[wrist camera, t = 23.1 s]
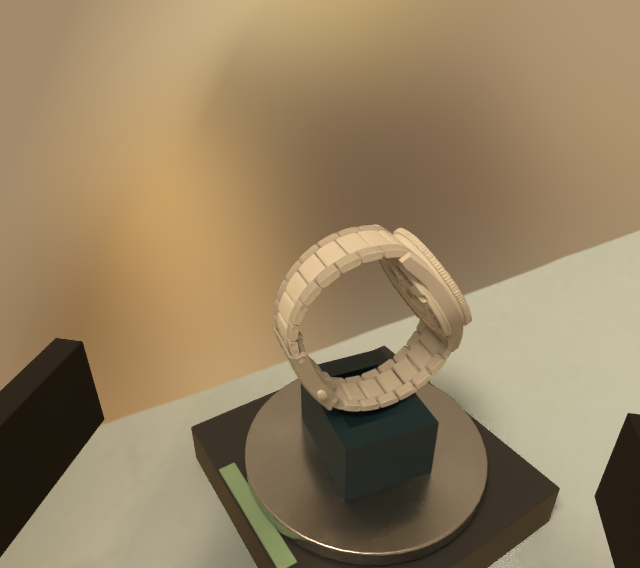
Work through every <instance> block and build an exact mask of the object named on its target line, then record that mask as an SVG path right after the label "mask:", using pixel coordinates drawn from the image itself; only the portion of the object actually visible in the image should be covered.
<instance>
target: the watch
mask: <svg viewBox="0 0 640 568" xmlns="http://www.w3.org/2000/svg"><path fill="white" fill-rule="evenodd" d="M317 245H318V246H319V247H318V246H317ZM317 245H316V244H315V245H313V246H312V247H311V248H310V249H308V250H307V251H306V252H305V253H304V254H303V255H302V256H301V257H300V261H301V262H302V263H301V262H300V261H299V260H298V261H297V262H296V263H295V264H294V265H293V266H292V268H291V269H290V271H289V272H288V274H287V275H286V279H287V280H286V279H285V280H284V281H283V282H282V284H281V287H280V289H279V292H278V295H277V300H276V302H275V309H274V314H275V317H274V319H275V324H276V326H275V327H274V328H273V330H274V333H275V335H276V337H277V339H278V341H279V343H280V345H281V347H282V349H283V350H284V353H285V354H286V356H287V358H288V360H289V362H290V364H291V366H292V367H293V369H294V371H295V373H296V375H297V377H298V378H299V380H300V382H301V414H302V418H303V420H304V422H305V424H306V426H307V428H308V430H309V432H310V434H311V436H312V438H313V440H314V442H315V444H316V446H317V448H318V450H319V452H320V454H321V456H322V458H323V460H324V462H325V464H326V466H327V468H328V470H329V472H330V474H331V476H332V478H333V480H334V482H335V484H336V486H337V488H338V490H339V492H340V494H341V496H342V498H343V500H344V502H347V501H349V500H352V499H355V498H358V497H361V496H364V495H367V494H370V493H373V492H376V491H379V490H381V489H384V488H387V487H390V486H393V485H396V484H399V483H402V482H405V481H408V480H411V479H413V478H416V477H419V476H422V475H425V474H428V473H431V471H432V465H433V458H434V452H435V445H436V438H437V432H438V425H439V422H438V421H437V419H436V418H435V417H434V416H433V414H432V413H431V412H430V411H429V409H428V408H427V407H426V406H425V404H424V403H423V402H422V401H421V399H420V398H419V397H418V396H417V394H416V393H415V392H416V391H417V389H420V388H421V387H422V386H424V385H425V384H426V383H427V382H428V381H429V380H430V379H432V377H433V375H435V374H436V373H437V372H438V371H439V370H440V368H441V367H442V366H443V365H444V363H445V362H446V359H447V358H448V357H449V355H450V354H451V352H453V351H454V350H456V349H457V348H458V347H459V345H460V342H461V339H462V334H463V325H467V324H469V323H470V322H471V321H472V316H471V312H470V309H469V307H468V304H467V302H466V300H465V298H464V296H463V295H462V293H461V291H460V290H459V288H458V286H457V285H456V283H455V282H454V280H453V279H452V278H451V276H450V275H449V273H448V272H447V271H446V269H445V268H444V267H443V265H442V264H441V263H440V262H439V261H438V259H437V258H436V257H435V256H434V255H433V254H432V252H431V251H430V250H429V249H428V248H427V247H426V246H425V245H424V244H423V243H422V242H421V241H420V240H419V239H418V238H417V237H416V236H414V235H413V234H411V233H410V232H409V231H407V230H405V229H403V228H398V229H397V230H396V231H395V232H394V233H393V234H392V233H390V232H389V231H387V230H386V229H384V228H383V227H381V226H379V225H366V226H360V227H359V228H357V227H352V228H348V229H344V230H342V231H339V232H338V234H337V233H333V234H331V235H329V236H327V237H326V238H324V239H322V240H321V241H319V242H318V243H317ZM318 258H319V259H320V260H321V261H322V262H323V263H324V265H325V266H326V267H327V268H326V267H325V266H324V265H323V264H322V262H321V261H320V260H319V259H318ZM378 259H379V262H380V264H381V266H382V268H383V270H384V272H385V274H386V275H387V277H388V278H389V280H390V281H391V283H392V284H393V286H394V287H395V289H396V290H397V291H398V293H399V294H400V296H401V297H402V298H403V300H404V301H405V302H406V303H407V305H408V306H409V307H410V308H411V310H412V311H413V312H414V314H415V315H416V316H417V317H418V318H419V319H420V322H419V324H418V326H417V330H418V331H415V332H414V333H413V334H412V336H411V337H410V339H409V340H408V342H407V346H408V347H409V348H410V349H411V350H410V349H409V348H408V347H407V346H404V347H402V348H401V349H400V351H399V352H398V353H396V354H395V355H394V357H393V359H394V360H395V362H396V363H395V362H394V360H393V359H388V358H387V357H386V356H385V354H384V353H383V352H382V351H381V349H377V350H373V351H369V352H365V353H361V354H357V355H353V356H349V357H346V358H342V359H338V360H334V361H330V362H326V363H322V364H318V365H317V364H316V363H315V362H314V361H313V360H312V359H311V358H310V357H309V356H308V355H307V353H306V351H305V348H304V344H303V338H302V335H301V333H300V331H299V327H298V325H299V324H300V323H301V321H302V319H303V316H304V314H305V312H306V311H307V306H306V305H310V304H311V303H312V302H313V300H314V299H315V298H316V297H317V296H318V294H319V293H320V292H321V287H322V288H325V287H327V286H328V285H329V284H330V283H331V282H333V281H334V280H335V279H337V278H338V277H339V276H340V272H342V273H345V272H347V271H349V270H350V269H352V268H355V267H357V266H359V265H360V264H361V261H362V262H364V263H366V262H370V261H374V260H378ZM338 269H339V270H340V272H339V270H338ZM302 276H303V277H302ZM305 280H306V281H305ZM307 283H308V284H309V285H308V284H307ZM426 348H427V349H428V350H429V351H428V350H427V349H426ZM409 359H410V360H411V361H412V362H413V363H414V364H415V366H416V367H417V368H418V369H419V370H420V371H421V372H420V371H419V370H418V369H417V368H416V367H415V366H414V364H413V363H412V362H411V361H410V360H409ZM428 370H429V371H430V372H431V373H432V374H433V375H432V374H431V373H430V372H429V371H428ZM413 384H414V385H415V386H416V388H417V389H416V388H415V386H414V385H413Z"/></svg>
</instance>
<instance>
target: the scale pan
mask: <svg viewBox="0 0 640 568" xmlns="http://www.w3.org/2000/svg"><path fill="white" fill-rule="evenodd" d="M413 385H414V384H413ZM414 386H415V385H414ZM415 388H416V386H415ZM416 389H417V388H416ZM415 393H416V394H417V396H418V397H419V398H420V399H421V401H422V402H423V403H424V404H425V406H426V407H427V408H428V409H429V411H430V412H431V413H432V414H433V416H434V417H435V418H436V419H437V421H438V422H439V425H438V432H437V438H436V445H435V452H434V458H433V465H432V471H431V473H428V474H425V475H422V476H419V477H416V478H413V479H411V480H408V481H405V482H402V483H399V484H396V485H393V486H390V487H387V488H384V489H381V490H379V491H376V492H373V493H370V494H367V495H364V496H361V497H358V498H355V499H352V500H349V501H347V502H344V500H343V498H342V496H341V494H340V492H339V490H338V488H337V486H336V484H335V482H334V480H333V478H332V476H331V474H330V472H329V470H328V468H327V466H326V464H325V462H324V460H323V458H322V456H321V454H320V452H319V450H318V448H317V446H316V444H315V442H314V440H313V438H312V436H311V434H310V432H309V430H308V428H307V426H306V424H305V422H304V420H303V418H302V414H301V382H300V380H299V379H297V380H295V381H293V382H291V383H290V384H288V385H286V386H285V387H283V388H282V389H280V390H279V391H278V392H277V393H275V394H274V395H273V396H272V397H271V398H270V399H269V400H268V401H267V402H266V403H265V404H264V405H263V406H262V408H261V409H260V410H259V412H258V413H257V415H256V416H255V418H254V420H253V422H252V424H251V426H250V429H249V432H248V435H247V439H246V444H245V468H246V474H247V481H248V484H249V487H250V490H251V493H252V496H253V498H254V500H255V501H256V503H257V505H258V507H259V509H260V510H261V511H262V513H263V514H264V515H265V517H266V518H267V519H268V521H269V522H270V523H271V524H272V525H273V526H274V527H275V528H276V529H277V530H278V531H279V532H281V533H282V534H283V535H285V536H286V537H287V538H288V539H290V540H291V541H292V542H294V543H296V544H297V545H299V546H301V547H303V548H304V549H306V550H308V551H310V552H313V553H315V554H318V555H320V556H322V557H325V558H328V559H332V560H336V561H340V562H343V563H350V564H357V565H389V564H398V563H403V562H407V561H411V560H415V559H418V558H421V557H423V556H426V555H428V554H431V553H433V552H435V551H437V550H438V549H440V548H442V547H443V546H445V545H447V544H448V543H450V542H451V541H452V540H453V539H455V538H456V537H457V536H458V535H459V534H461V533H462V531H463V530H464V529H465V528H466V527H467V526H468V525H469V524H470V522H471V521H472V519H473V517H474V516H475V514H476V513H477V511H478V509H479V506H480V504H481V501H482V499H483V495H484V491H485V486H486V481H487V476H488V461H487V455H486V449H485V446H484V443H483V440H482V437H481V435H480V433H479V431H478V429H477V427H476V426H475V424H474V423H473V421H472V420H471V418H470V417H469V415H468V414H467V413H466V412H465V411H464V410H463V409H462V407H461V406H460V405H459V404H457V403H456V402H455V401H454V400H453V399H452V398H451V397H449V396H448V395H447V394H445V393H444V392H442V391H441V390H440V389H438V388H436V387H434V386H433V385H431V384H429V383H426V384H425V385H424V386H422V387H421V388H420V389H417V391H416V392H415Z"/></svg>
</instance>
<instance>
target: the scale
mask: <svg viewBox="0 0 640 568" xmlns="http://www.w3.org/2000/svg"><path fill="white" fill-rule="evenodd" d="M378 349H381V351H382V352H383V353H384V354H385V356H386V357H387V358H388V359H393V357H394V355H395V354H394V353H393V352H392V351H390V350H389V349H388V348H387V347H385V346H382V347H380V348H378ZM375 350H377V349H375ZM393 360H394V359H393ZM394 362H395V360H394ZM395 363H396V362H395ZM427 383H429V384H431V383H430V382H429V381H428V382H427ZM431 385H432V384H431ZM434 387H435V386H434ZM278 391H279V390H278ZM278 391H276V392H273V393H271V394H268V395H266V396H264V397H261V398H259V399H257V400H254V401H252V402H249V403H247V404H245V405H242V406H240V407H238V408H235V409H233V410H230V411H228V412H226V413H223V414H221V415H219V416H216V417H214V418H211V419H209V420H207V421H204V422H202V423H200V424H197V425H195V426H192V428H191V429H192V434H193V440H194V446H195V452H196V457H197V460H198V461H199V463H200V465H201V467H202V469H203V470H204V472H205V474H206V476H207V478H208V479H209V481H210V483H211V485H212V486H213V488H214V490H215V492H216V494H217V495H218V497H219V499H220V501H221V502H222V504H223V506H224V508H225V510H226V511H227V513H228V515H229V517H230V519H231V520H232V522H233V524H234V526H235V527H236V529H237V531H238V533H239V535H240V536H241V538H242V540H243V542H244V543H245V545H246V547H247V549H248V551H249V552H250V554H251V556H252V558H253V560H254V561H255V563H256V565H257V567H258V568H487V567H488V566H489V565H491V564H492V563H493V562H495V561H496V560H497V559H499V558H500V557H501V556H503V555H504V554H505V553H507V552H508V551H509V550H511V549H512V548H513V547H515V546H516V545H517V544H519V543H520V542H521V541H523V540H524V539H525V538H527V537H528V536H529V535H531V534H532V533H533V532H535V531H536V530H537V529H539V528H540V527H541V526H543V525H544V524H545V523H547V522H548V521H549V519H550V516H551V513H552V510H553V507H554V504H555V501H556V498H557V495H558V492H559V490H560V488H559V487H558V486H557V485H555V484H554V483H553V482H552V481H550V480H549V479H548V478H547V477H545V476H544V475H543V474H542V473H541V472H539V471H538V470H537V469H536V468H534V467H533V466H532V465H531V464H529V463H528V462H527V461H526V460H525V459H523V458H522V457H521V456H520V455H518V454H517V453H516V452H515V451H513V450H512V449H511V448H510V447H509V446H507V445H506V444H505V443H504V442H502V441H501V440H500V439H499V438H497V437H496V436H495V435H494V434H493V433H491V432H490V431H489V430H488V429H486V428H485V427H484V426H483V425H481V424H480V423H479V422H478V421H477V420H475V419H474V418H473V417H472V416H470V415H469V414H468V413H467V412H466V413H467V414H468V415H469V417H470V418H471V420H472V421H473V423H474V424H475V426H476V427H477V429H478V431H479V433H480V435H481V437H482V440H483V443H484V446H485V449H486V455H487V461H488V476H487V481H486V486H485V491H484V495H483V499H482V501H481V504H480V506H479V509H478V511H477V513H476V514H475V516H474V517H473V519H472V521H471V522H470V524H469V525H468V526H467V527H466V528H465V529H464V530H463V531H462V533H461V534H459V535H458V536H457V537H456V538H455V539H453V540H452V541H451V542H450V543H448V544H447V545H445V546H443V547H442V548H440V549H438V550H437V551H435V552H433V553H431V554H428V555H426V556H423V557H421V558H418V559H415V560H411V561H407V562H403V563H398V564H389V565H357V564H350V563H343V562H340V561H336V560H332V559H328V558H325V557H322V556H320V555H318V554H315V553H313V552H310V551H308V550H306V549H304V548H303V547H301V546H299V545H297V544H296V543H294V542H292V541H291V540H290V539H288V538H287V537H286V536H285V535H283V534H282V533H281V532H279V531H278V530H277V529H276V528H275V527H274V526H273V525H272V524H271V523H270V522H269V521H268V519H267V518H266V517H265V515H264V514H263V513H262V511H261V510H260V509H259V507H258V505H257V503H256V501H255V500H254V498H253V496H252V493H251V490H250V487H249V484H248V481H247V474H246V468H245V444H246V439H247V435H248V432H249V429H250V426H251V424H252V422H253V420H254V418H255V416H256V415H257V413H258V412H259V410H260V409H261V408H262V406H263V405H264V404H265V403H266V402H267V401H268V400H269V399H270V398H271V397H272V396H273V395H274V394H275V393H277V392H278Z"/></svg>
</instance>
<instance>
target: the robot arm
mask: <svg viewBox="0 0 640 568" xmlns="http://www.w3.org/2000/svg"><path fill="white" fill-rule="evenodd" d="M103 420H104V416H103V412H102V409H101V405H100V402H99V398H98V395H97V391H96V388H95V384H94V381H93V377H92V374H91V370H90V367H89V363H88V359H87V356H86V352H85V349H84V346H83V342H82V341H74V340H67V339H59V338H56V339H55V340H54V341H52V343H50V344H49V345H48V346H47V347H46V348H45V349H44V350H43V351H42V352H41V353H40V354H39V355H38V356H37V357H36V358H35V359H34V360H33V361H31V362H30V363H29V364H28V365H27V366H26V367H25V368H24V369H23V370H22V371H21V372H20V373H19V374H18V375H17V376H16V377H15V378H14V379H13V380H12V381H10V383H9V384H7V385H6V386H5V387H4V388H3V389H2V390H1V391H0V557H1V556H2V555H3V553H4V552H5V551H6V549H7V548H8V547H9V545H10V544H11V543H12V541H13V540H14V539H15V537H16V536H17V535H18V533H19V532H20V531H21V529H22V528H23V527H24V525H25V524H26V523H27V521H28V520H29V519H30V517H31V516H32V515H33V513H34V512H35V511H36V509H37V508H38V507H39V505H40V504H41V503H42V501H43V500H44V499H45V497H46V496H47V495H48V493H49V492H50V491H51V489H52V488H53V487H54V485H55V484H56V483H57V481H58V480H59V479H60V477H61V476H62V475H63V474H64V472H65V471H66V470H67V468H68V467H69V466H70V464H71V463H72V462H73V460H74V459H75V458H76V456H77V455H78V454H79V452H80V451H81V450H82V448H83V447H84V446H85V444H86V443H87V442H88V440H89V439H90V438H91V436H92V435H93V434H94V432H95V431H96V430H97V428H98V427H99V426H100V424H101V423H102V422H103ZM595 499H596V503H597V506H598V510H599V513H600V517H601V520H602V524H603V527H604V531H605V534H606V538H607V542H608V545H609V549H610V552H611V556H612V559H613V563H614V566H615V568H640V415H639V414H631V413H628V414H627V417H626V419H625V422H624V424H623V427H622V429H621V432H620V434H619V437H618V439H617V442H616V444H615V447H614V449H613V451H612V454H611V456H610V459H609V461H608V464H607V466H606V469H605V471H604V474H603V476H602V479H601V481H600V484H599V486H598V489H597V491H596V494H595Z"/></svg>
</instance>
